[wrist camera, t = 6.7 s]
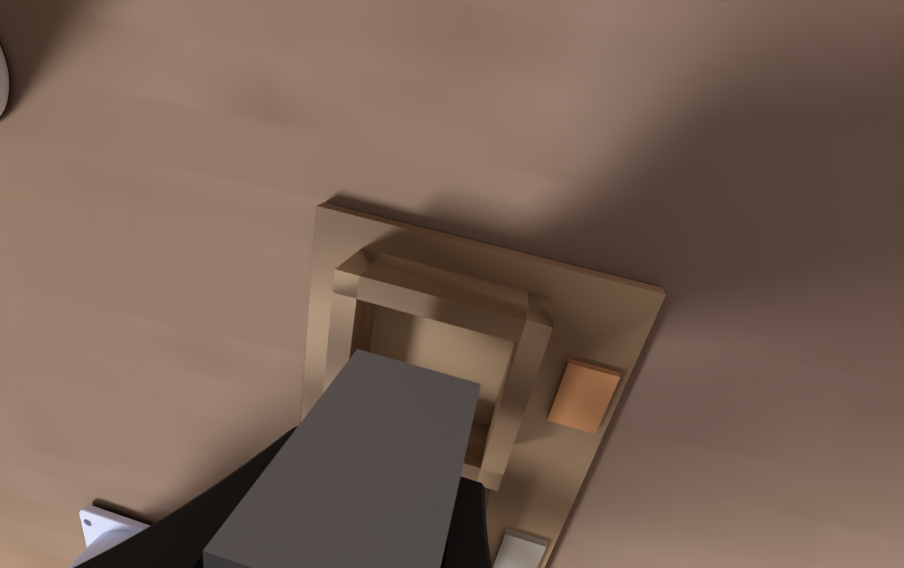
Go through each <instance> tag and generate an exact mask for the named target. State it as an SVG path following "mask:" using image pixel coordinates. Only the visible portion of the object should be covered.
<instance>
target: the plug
mask: <svg viewBox="0 0 904 568" xmlns="http://www.w3.org/2000/svg"><path fill="white" fill-rule="evenodd" d="M480 386H481V384H479V383H476V382H472V381H469V380H465V379H462V378H458V377H455V376H451V375H448V374H444V373H441V372H437V371H434V370H430V369H427V368H423V367H420V366H416V365H412V364H409V363H405V362H402V361H398V360H395V359H391V358H388V357H384V356H381V355H377V354H374V353H370V352H367V351H363V350H360V349H357V350H356V351H355V352H354V354H353V355H352V356H351V358H350V359H349V360H348V362H347V363H346V364H345V366H344V367H343V368H342V369H341V371H340V372H339V373H338V375H337V376H336V377H335V379H334V380H333V381H332V383H331V384H330V385H329V386H328V388H327V389H326V390H325V392H324V393H323V394H322V396H321V397H320V398H319V400H318V401H317V402H316V403H315V405H314V406H313V407H312V409H311V410H310V411H309V413H308V414H307V415H306V417H305V418H304V419H303V420H302V422H301V423H300V424H299V426H298V427H297V428H296V430H295V431H294V432H293V433H292V435H291V436H290V437H289V439H288V440H287V441H286V443H285V444H284V445H283V447H282V448H281V449H280V450H279V452H278V453H277V454H276V456H275V457H274V458H273V460H272V461H271V462H270V464H269V465H268V466H267V467H266V469H265V470H264V471H263V473H262V474H261V475H260V477H259V478H258V479H257V481H256V482H255V483H254V484H253V486H252V487H251V488H250V490H249V491H248V492H247V494H246V495H245V496H244V498H243V499H242V500H241V501H240V503H239V504H238V505H237V507H236V508H235V509H234V511H233V512H232V513H231V515H230V516H229V517H228V518H227V520H226V521H225V522H224V524H223V525H222V526H221V528H220V529H219V530H218V532H217V533H216V534H215V535H214V537H213V538H212V539H211V541H210V542H209V543H208V545H207V546H206V547H205V549H204V550H203V566H204V568H440V567H441V563H442V558H443V554H444V549H445V544H446V540H447V535H448V531H449V526H450V522H451V517H452V513H453V508H454V504H455V499H456V495H457V490H458V485H459V481H460V476H461V472H462V467H463V463H464V458H465V454H466V449H467V445H468V440H469V436H470V431H471V426H472V422H473V417H474V413H475V408H476V404H477V399H478V395H479V390H480Z"/></svg>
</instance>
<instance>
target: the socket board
mask: <svg viewBox="0 0 904 568" xmlns="http://www.w3.org/2000/svg"><path fill="white" fill-rule="evenodd" d="M665 296H666V294H665V292H664V290H663V289H662V287H658V286H654V285H650V284H646V283H642V282H638V281H634V280H630V279H626V278H622V277H618V276H614V275H610V274H606V273H602V272H598V271H594V270H590V269H586V268H582V267H578V266H574V265H570V264H566V263H562V262H558V261H555V260H551V259H547V258H543V257H539V256H535V255H531V254H527V253H523V252H519V251H515V250H511V249H507V248H503V247H499V246H495V245H491V244H487V243H483V242H479V241H475V240H471V239H467V238H463V237H459V236H455V235H451V234H447V233H444V232H440V231H436V230H432V229H428V228H424V227H420V226H416V225H412V224H408V223H404V222H400V221H396V220H392V219H388V218H384V217H380V216H376V215H372V214H368V213H364V212H360V211H356V210H352V209H348V208H344V207H340V206H336V205H332V204H329V203H325V202H324V203H322V204H319V205H317V206H316V216H315V230H314V244H313V258H312V272H311V286H310V300H309V314H308V328H307V341H306V355H305V369H304V383H303V397H302V411H301V422H302V420H303V419H304V418H305V417H306V415H307V414H308V413H309V411H310V410H311V409H312V407H313V406H314V405H315V403H316V402H317V401H318V400H319V398H320V397H321V396H322V394H323V393H324V392H325V390H326V389H327V388H328V386H329V385H330V384H331V383H332V381H333V380H334V379H335V377H336V376H337V375H338V373H339V372H340V371H341V369H342V368H343V367H344V366H345V364H346V363H347V362H348V360H349V359H350V358H351V356H352V355H353V354H354V352H355V351H356V350H357V349H360V350H363V351H367V352H370V353H374V354H377V355H381V356H384V357H388V358H391V359H395V360H398V361H402V362H405V363H409V364H412V365H416V366H420V367H423V368H427V369H430V370H434V371H437V372H441V373H444V374H448V375H451V376H455V377H458V378H462V379H465V380H469V381H472V382H476V383H479V384H481V386H480V390H479V395H478V399H477V404H476V408H475V413H474V417H473V422H472V426H471V431H470V436H469V440H468V445H467V449H466V454H465V458H464V463H463V467H462V472H461V477H464V478H467V479H471V480H474V481H477V482H480V483H482V484H483V485H484V487H485V514H486V526H487V535H488V544H489V551H490V558H491V564H492V568H545V566H546V563H547V561H548V559H549V557H550V554H551V552H552V550H553V548H554V545H555V543H556V541H557V539H558V536H559V534H560V532H561V530H562V527H563V525H564V523H565V521H566V518H567V516H568V514H569V512H570V509H571V507H572V505H573V503H574V500H575V498H576V496H577V494H578V491H579V489H580V487H581V485H582V482H583V480H584V478H585V476H586V474H587V471H588V469H589V467H590V465H591V462H592V460H593V458H594V456H595V453H596V451H597V449H598V447H599V444H600V442H601V440H602V438H603V435H604V433H605V431H606V429H607V426H608V424H609V422H610V420H611V417H612V415H613V413H614V411H615V408H616V406H617V404H618V402H619V399H620V397H621V395H622V393H623V390H624V388H625V386H626V384H627V381H628V379H629V377H630V375H631V372H632V370H633V368H634V366H635V364H636V361H637V359H638V357H639V355H640V352H641V350H642V348H643V346H644V343H645V341H646V339H647V337H648V334H649V332H650V330H651V328H652V325H653V323H654V321H655V319H656V316H657V314H658V312H659V310H660V307H661V305H662V303H663V301H664V298H665Z"/></svg>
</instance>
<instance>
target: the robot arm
mask: <svg viewBox="0 0 904 568" xmlns="http://www.w3.org/2000/svg"><path fill="white" fill-rule="evenodd" d="M297 427H298V426H296V427H294V428H292V429H291V430H290V431H288V432H287V433H286V434H284V435H283V436H282V437H280V438H279V439H278V440H276V441H275V442H274V443H273V444H271V445H270V446H269V447H267V448H266V449H265V450H263V451H262V452H261V453H259V454H258V455H256V456H255V457H254V458H252V459H251V460H250V461H248V462H247V463H246V464H244V465H243V466H241V467H240V468H239V469H237V470H236V471H234V472H233V473H231V474H230V475H229V476H227V477H226V478H224V479H223V480H221V481H220V482H218V483H217V484H216V485H214V486H213V487H211V488H210V489H208V490H207V491H205V492H204V493H202V494H201V495H199V496H197V497H196V498H194V499H193V500H191V501H190V502H188V503H186V504H185V505H183V506H182V507H180V508H179V509H177V510H176V511H174V512H172V513H171V514H169V515H168V516H166V517H164V518H163V519H161V520H159V521H158V522H156V523H154V524H153V525H151V526H150V525H147V524H145V523H142V522H139V521H136V520H133V519H130V518H127V517H124V516H121V515H118V514H115V513H112V512H109V511H107V510H104V509H101V508H98V507H95V506H92V505H87V506H85V507H84V508H83V509H82V510H81V511H80V518H81V522H82V527H83V532H84V536H85V541H86V545H87V548H86V549H85V550H84V551H83V552H82V553H81V554H80V555H79V556H78V557H77V558H76V559H75V560H73V561H72V562H71V563H70V564H69V565H68V566H67V567H66V568H204V566H203V550H204V549H205V547H206V546H207V545H208V543H209V542H210V541H211V539H212V538H213V537H214V535H215V534H216V533H217V532H218V530H219V529H220V528H221V526H222V525H223V524H224V522H225V521H226V520H227V518H228V517H229V516H230V515H231V513H232V512H233V511H234V509H235V508H236V507H237V505H238V504H239V503H240V501H241V500H242V499H243V498H244V496H245V495H246V494H247V492H248V491H249V490H250V488H251V487H252V486H253V484H254V483H255V482H256V481H257V479H258V478H259V477H260V475H261V474H262V473H263V471H264V470H265V469H266V467H267V466H268V465H269V464H270V462H271V461H272V460H273V458H274V457H275V456H276V454H277V453H278V452H279V450H280V449H281V448H282V447H283V445H284V444H285V443H286V441H287V440H288V439H289V437H290V436H291V435H292V433H293V432H294V431H295V430H296V428H297ZM440 568H492V564H491V558H490V551H489V544H488V535H487V526H486V514H485V487H484V485H483V484H482V483H480V482H477V481H474V480H471V479H467V478H464V477H461V476H460V481H459V485H458V490H457V495H456V499H455V504H454V508H453V513H452V517H451V522H450V526H449V531H448V535H447V540H446V544H445V549H444V554H443V558H442V563H441V567H440Z"/></svg>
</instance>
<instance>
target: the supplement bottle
mask: <svg viewBox="0 0 904 568" xmlns="http://www.w3.org/2000/svg"><path fill="white" fill-rule="evenodd" d="M8 94H9V73H8V68H7V64H6V60H5V57H4V54H3V51H2V49H1V47H0V116H1V114H2V113H3V111H4V109H5V106H6V104H7V100H8Z"/></svg>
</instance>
